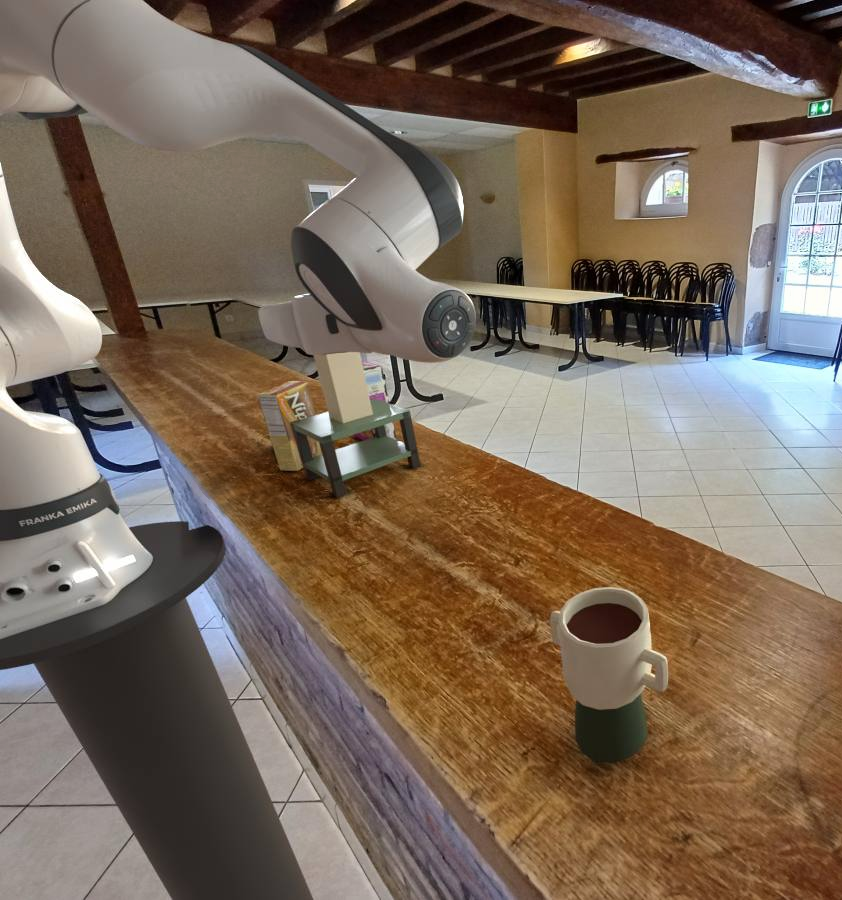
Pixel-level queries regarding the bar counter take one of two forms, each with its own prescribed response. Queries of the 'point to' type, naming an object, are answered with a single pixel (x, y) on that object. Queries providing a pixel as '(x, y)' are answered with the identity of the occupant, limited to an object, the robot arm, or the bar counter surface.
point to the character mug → (608, 669)
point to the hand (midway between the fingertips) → (326, 308)
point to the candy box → (288, 421)
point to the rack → (357, 455)
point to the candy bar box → (375, 396)
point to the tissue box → (344, 386)
